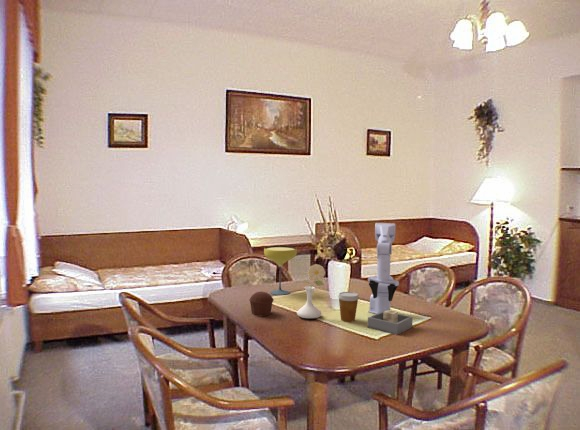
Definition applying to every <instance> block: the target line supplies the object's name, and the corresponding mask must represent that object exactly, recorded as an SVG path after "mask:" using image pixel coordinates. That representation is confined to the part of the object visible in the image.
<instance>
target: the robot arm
mask: <svg viewBox="0 0 580 430" xmlns="http://www.w3.org/2000/svg"><path fill="white" fill-rule="evenodd" d="M374 237H375V241H376V242H377V244H376V259H377V262H376V264H377V265H376V275H375V276H368V277H367V282H368V286H369V288H370V291H371V295H370V297H369V311H368V313H371V314H374V315H375V314H377V313H380V312H382V311H387V310H391V302H392V301H393V298H394V295H395V292H396V291H397V289H398V288H399V287H398V286H400V281H399V280H395V279H394V277H392V276H391V256H392V252H393V251H392V250H393V249H392V248H393V244H392V243H394V242H395V239H396V223H394V222H393V223H392V222H391V223H389V222H388V223H387V222H386V223H385V222H376V223H375V226H374Z"/></svg>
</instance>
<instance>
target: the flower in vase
mask: <svg viewBox="0 0 580 430" xmlns="http://www.w3.org/2000/svg"><path fill="white" fill-rule="evenodd" d="M307 275H308V278H309V279H310V280H312V281H314V282H313V283H312V284H311V283H310V282H309V281H306V280H304V282H306V283H307V284H308V285H309V286H304V287H303V288H304V289H305V292H306V302H305V304H303V306H301V307H300V308H299V309H298V310H297V312H296V314H297V316H298V317H300V318H303V319H317V318H320V317H321V316H322V311H321V310H320V309H319V308H318V307H317V306H316V305H314V303H313V293H314V290H315V289H316V287H314V285H316V286H319V287H320V286H324V285H325V284H324V282H323V281H322V280H323V279H324V277H325V275H326V270H325V268H324V267H323V266H322V265H320V264H318V263H315V264H312V265H310V266H309V268H308V271H307ZM310 285H311V286H310Z"/></svg>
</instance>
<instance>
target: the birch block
mask: <svg viewBox="0 0 580 430" xmlns="http://www.w3.org/2000/svg"><path fill="white" fill-rule="evenodd" d="M398 314H399V311H395V310H391V309H390V310H387V311H385V312H383V320H385V321H389V322H393V323H398Z"/></svg>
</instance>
